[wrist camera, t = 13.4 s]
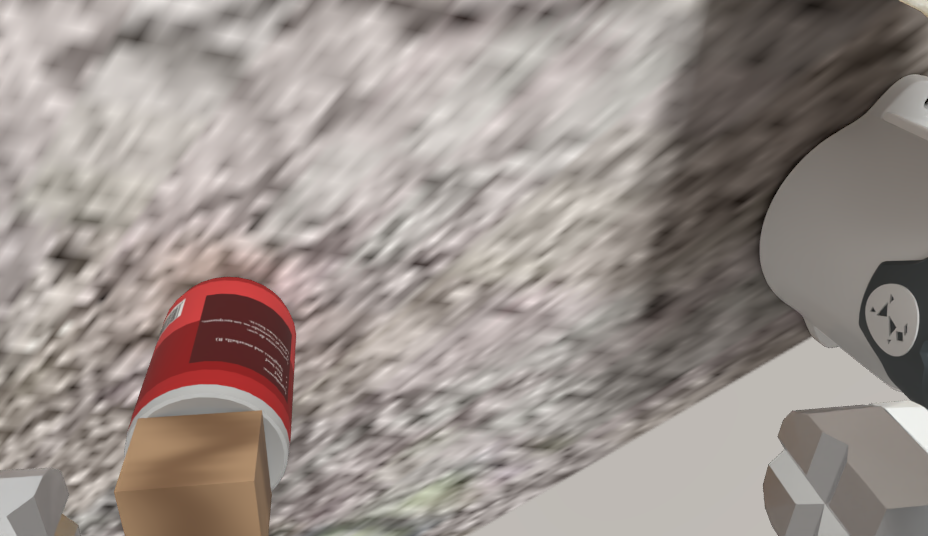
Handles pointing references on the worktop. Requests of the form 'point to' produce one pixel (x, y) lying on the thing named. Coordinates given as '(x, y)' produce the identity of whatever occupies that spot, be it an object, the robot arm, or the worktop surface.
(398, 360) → the worktop surface
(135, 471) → the walnut block
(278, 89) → the worktop surface
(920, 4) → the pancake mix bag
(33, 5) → the worktop surface
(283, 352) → the canned food
